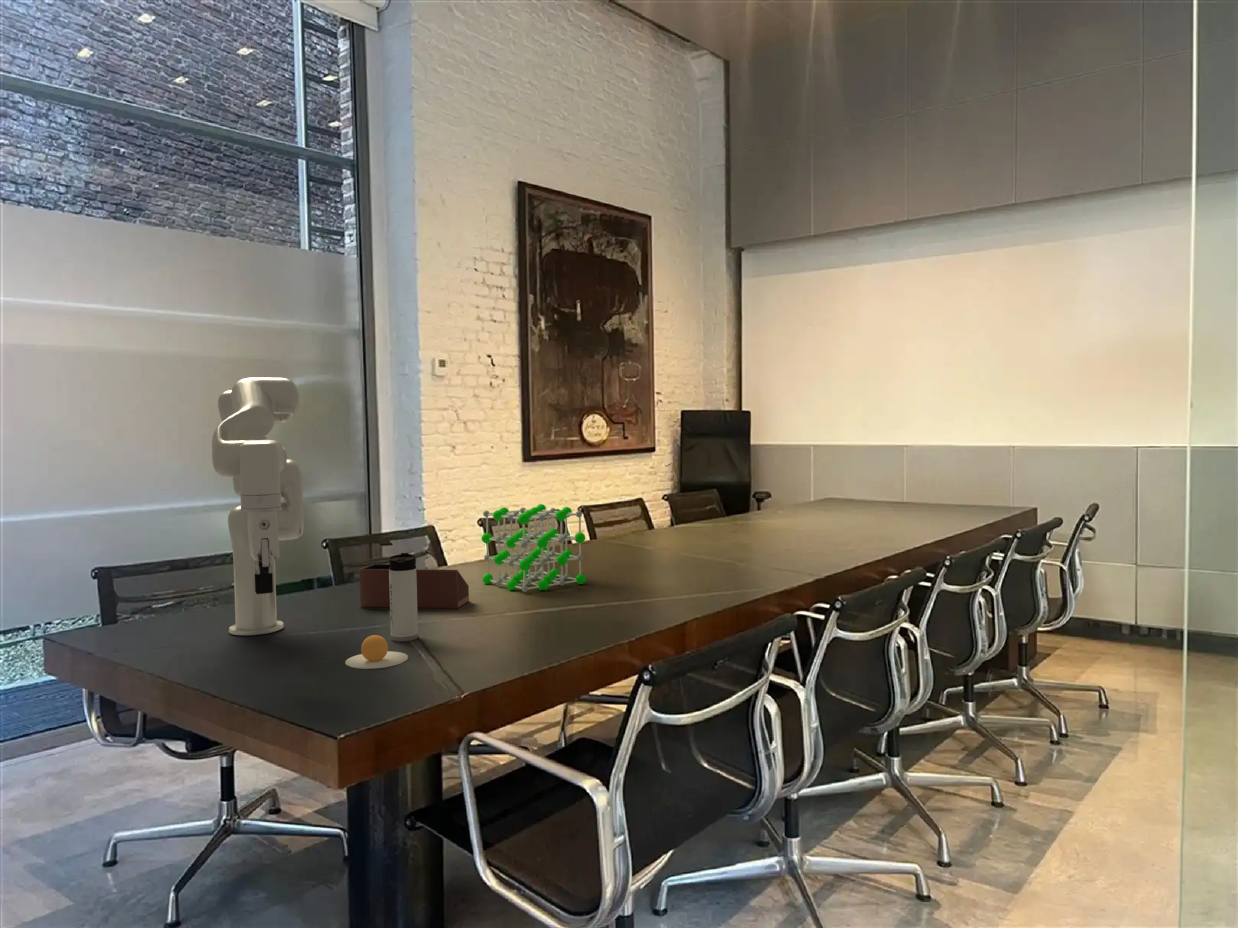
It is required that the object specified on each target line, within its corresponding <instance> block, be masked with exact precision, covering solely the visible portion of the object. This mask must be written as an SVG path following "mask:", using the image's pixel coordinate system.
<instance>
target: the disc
mask: <svg viewBox="0 0 1238 928" xmlns="http://www.w3.org/2000/svg"><path fill="white" fill-rule="evenodd" d="M407 660H409V655H408V654H407V653H404V652H400V651H390V650H388V652H387V654H386V656H385V657H384V658H383V659H381V660H379V661H375V662H372V661H368V660H367V659H365V658H364V657H363V655H362V653H361V654H360V653H359V654H357V655H353V656H351V657H349V658H347V659H346V660H345V663H344V664H345V665H346V666H347V667H350V668H353V669H360V670H361V669H363V670H370V669H371V670H372V669H373V670H374V669H383V668H389V667H394V666H397V665H400V664H403V663H405V662H406V661H407Z"/></svg>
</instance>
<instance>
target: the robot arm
mask: <svg viewBox="0 0 1238 928" xmlns="http://www.w3.org/2000/svg"><path fill="white" fill-rule="evenodd" d="M299 405H300V395H299V390H298V387H297V384H295V383H294V381H293V380H291V379H290V378H286V377H246V378H242V379H240V380H238V381H237V382H235V383H234V384H233V386H232V388H231V389H230V390H229V389H228V390H226V391H223V392H222V393H221V394H220V395H219V396H218V400H217V408H218V412H219V416H220V420H221V422H220V423H219V424H218V426H217V427H216V428H215V429H214V431H213V434H212V439H211V460H212V466H213V469H214V471H215V473H216V474H218V475H219V476H222V477H226V478H227V477H228V478H230V477H231V478H232V483H233V485H232V486H233V489H234V494H236V496H237V497H239V498H240V505H237V506H235V507H233V508H232V509H231V510H230V511H229V513H228V515H227V524H228V530H229V537H230V543H231V549H232V559H233V561H232V562H233V585H234V586H233V587H234V590H233V591H234V614H235V616H234V617H235V624H233V625H231V626H229V628H228V634H230V635H233V636H234V635H235V636H259V635H266V634H271V633H275V632H279V631H280V630H282V629H284V625H285V623H284V622H283V621H282V620H278V619H277V618H278V617H277V616H278V615H277V591H276V590H277V588H276V561H275V560H279V559H280V558H281V554H280V541H288V540H296V539H300V538H301V536H302V535H303V533H304V530H305V529H304V528H305V518H304V517H305V516H304V514H305V513H304V496H303V479H302V473H301V472H302V471H301V468H300V465H299V464H298V462H297V461H295V460H293V459H288V454H287V449H286V448H285V447H284V445H283V444H282V443H281V442H280V441H278V440H274V439H268V437H267V435H268V434H270V432H272V430H273V429H274V426H275V424H277V425H278V424H280V425H281V424H289V423H292V422H293V421H294V419H295V418H296V415H297V413H298V410H299ZM282 500H283V502H282Z"/></svg>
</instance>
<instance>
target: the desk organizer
mask: <svg viewBox="0 0 1238 928" xmlns="http://www.w3.org/2000/svg"><path fill="white" fill-rule="evenodd" d="M389 567H390V566H389V563H372V564H370V565H367V566H365V567H362V568H360V569H359V590H360V591H359V592H360V593H359V594H360V595H359V597H360V606H359V607H358V609H373V610H374V609H375V610H376V609H380V610H387V609H388V610H390V586H389ZM416 576H417V610H428V611H429V610H438V611H442V610H443V611H445V610H446V611H448V610H449V611H460V610H462V609H463V608H465V607H466V606H468V605H469V604H471V603H472V601H470V592H469V591H470V589H469V587H470V586H469V585H468V583H467V582H466V580H465V579H464V577H463V576H462V575H461V572H459V570H458V569H417V568H416Z"/></svg>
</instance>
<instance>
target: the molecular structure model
mask: <svg viewBox="0 0 1238 928" xmlns="http://www.w3.org/2000/svg"><path fill="white" fill-rule="evenodd" d="M482 515H483V517H485V521H486V522H485V523H486V524H485V526H486V527H485V528H486V530H485V531H486V532H485V533H483V534H482V535H481V538H480V539H481V542H483V543H484V544H486V554H485V555H484V556H483V558H484V560H485V561H486V573H484V574H483V576H482V579H481V581H482V582H483V584H485V585H490V584H492V583H496V585H498V586H502V585H505V586H506V588H507V590H509V591H511V590H514V591H516V590H517V589H519V590H520V589H521V591H522V592H524V593H526V592H528V590H535V589H538V590H539V591H541V590H545V591H547V590H548V589H549V587H554V586H564V585H566V584H571V583H576V582H577V583H584V582H585V583H586V581H587V577H586V575H584V574H582V561H583V560H584V556H583V554H582V543H584V542H585V541H586V535H585V533H583V532H582V527H581V526H582V516H583V512H582V511H581V510H577V511H576V512H573V511H572V509H571V507H569V506H564V507H563V508H562V509H558V510H557V509H556V508H555V507H551V508H550V509H549V510H548V509H547V507H546V505H544V504H542V503H540V504H538V505H536V506H533V507H531V508H529V509H526V508H525V507H523V506H522V507H520V508H519V510H509V508H507V507H504V506H502V507H501V508H499V509H497V510H495V511H494V512H490V511H488V510H484V511H483V512H482ZM489 516H491V517H492V518H493V519H494V520H495V521H496V522H497V535H496V536H493V535H492V534H491V533H490V532H489ZM573 516H576V517H577V518H578V532H577V533H576V534H575V535H574V536H572V535H570V534H569V533H568V518H570V517H573ZM551 518H552V528H551V529H550V519H551ZM555 518H556V520H557V521H559V522H560V527H559V528H560V531H559V530H558V529H557V528H555ZM506 519H507V520H508V521H509V522H510V523H509V524H510V526H509V527H510V532H509V533H510V534H508V533H507V532H506ZM502 520H503V523H502V524H503V525H502V526H503V528H502V529H503V532H502V533H501V529H500V526H501V525H500V521H502ZM514 520H515V533H514V534H513V521H514ZM537 520H539V521H540V522H539V524H540V527H539V529H538V530H537ZM544 520H547V521H546V522H547V523H546V525H547V526H546V529H547V530H546V531H547V532H546V531H545V530H544ZM531 521H534V531H533V532H532V531H531ZM563 522H564V525H565V526H564V527H565V528H564V529H565V530H564V533H563ZM518 523H520V525H522V528H520V529H519V530H518ZM526 525H527V529H528V530H527V529H526ZM559 532H560V533H559ZM500 533H501V534H500ZM492 541H495V543H496V544H497V554H496V555H490V554H489V551H490V550H489V544H490V543H491V542H492ZM568 541H575V542H576V543H577V544H578V547H579V548H578V555H573V552H572V551H571V550H570V549H568ZM557 542H558V543H559V544H560V552H558V551H557V550H556V549H555V547H556V546H555V543H557ZM501 543H503V550H501ZM551 543H552V549H551V551H550V544H551ZM564 543H565V546H564V547H565V550H563V549H564V547H563V545H564ZM531 545H533V546H534V549H533V550H531ZM518 546H520V547H521V548H522V549H521V550H520V552H519V550H518V549H519V548H518ZM506 547H508V548H509V549H510V551H509V550H507V548H506ZM527 547H528V548H527ZM514 548H515V553H514V552H513V549H514ZM526 548H527V550H528V551H527V550H526ZM519 555H520V556H519ZM513 556H514V557H513ZM490 560H491V561H492V560H493V561H494V563H495V564H496V565H497V566H498V567H497V569H498V570H497V571H498V572H497V574H498V576H497V577H493V574H490V573H489V570H490V566H489V563H490V562H489V561H490ZM574 560H575V561H576V560H577V561H578V563H579V564H578V568H579V569H578V571H579V573H578V574H577V575H576V576H575V577H570V576H571V575H570V574H569V573H568V562H569V561H574ZM556 563H557V564H558V565H560V570H559V569H557V568H556ZM550 564H552V569H551V566H550ZM502 565H503V573H502V575H501V566H502ZM507 565H509V567H510V575H509V574H508V573H507ZM514 565H515V574H514V569H513V568H514V567H513V566H514ZM538 565H539V566H540V568H539V569H538ZM546 565H547V571H546V570H545V568H544V567H545V566H546ZM533 566H534V572H531V568H532V567H533ZM564 566H565V573H564V569H563V567H564ZM519 569H520V570H519ZM550 569H551V570H550ZM563 573H564V574H563ZM527 577H528V578H527ZM554 577H558V578H555V579H554ZM503 580H504V581H503ZM533 580H534V581H533ZM535 580H536V581H535ZM551 583H553V584H551ZM577 583H576V584H577ZM585 583H584V584H585ZM532 585H533V586H532ZM546 589H547V590H546Z"/></svg>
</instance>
